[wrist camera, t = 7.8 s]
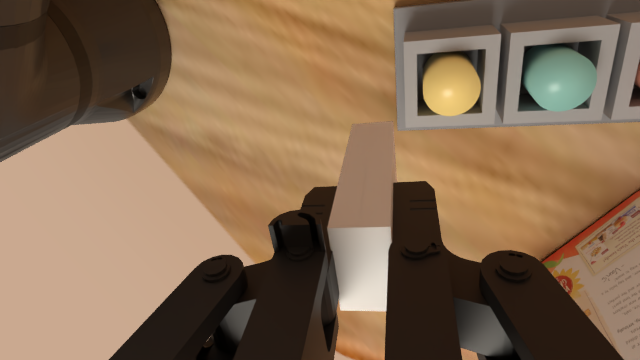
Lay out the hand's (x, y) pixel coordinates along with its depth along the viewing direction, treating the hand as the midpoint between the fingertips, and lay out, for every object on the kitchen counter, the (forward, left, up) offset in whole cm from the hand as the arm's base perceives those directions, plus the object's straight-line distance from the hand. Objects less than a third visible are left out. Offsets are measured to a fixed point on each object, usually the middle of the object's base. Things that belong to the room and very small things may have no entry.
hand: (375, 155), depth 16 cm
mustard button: (+4, -2, -19) cm, 20 cm away
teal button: (+11, -2, -19) cm, 22 cm away
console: (+11, -2, -21) cm, 24 cm away
